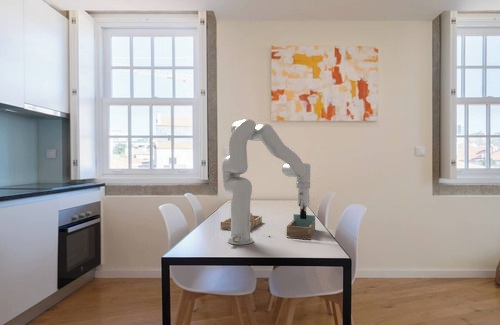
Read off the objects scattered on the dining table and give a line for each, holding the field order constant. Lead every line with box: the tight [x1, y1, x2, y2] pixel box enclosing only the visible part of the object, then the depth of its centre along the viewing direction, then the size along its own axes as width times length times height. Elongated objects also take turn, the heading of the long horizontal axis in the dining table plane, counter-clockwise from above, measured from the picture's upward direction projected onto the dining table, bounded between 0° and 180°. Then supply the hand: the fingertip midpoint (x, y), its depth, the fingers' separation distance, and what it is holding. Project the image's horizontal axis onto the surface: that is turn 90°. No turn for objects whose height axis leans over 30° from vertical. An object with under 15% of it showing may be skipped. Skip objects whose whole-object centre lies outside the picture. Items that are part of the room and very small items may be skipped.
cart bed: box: [286, 219, 316, 241], centre depth 162 cm, size 18×12×6 cm
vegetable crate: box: [220, 215, 263, 231], centre depth 185 cm, size 26×17×4 cm, turn 161°
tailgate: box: [293, 213, 316, 227], centre depth 171 cm, size 1×12×8 cm, turn 71°
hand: (303, 218), depth 167 cm, fingers closed
